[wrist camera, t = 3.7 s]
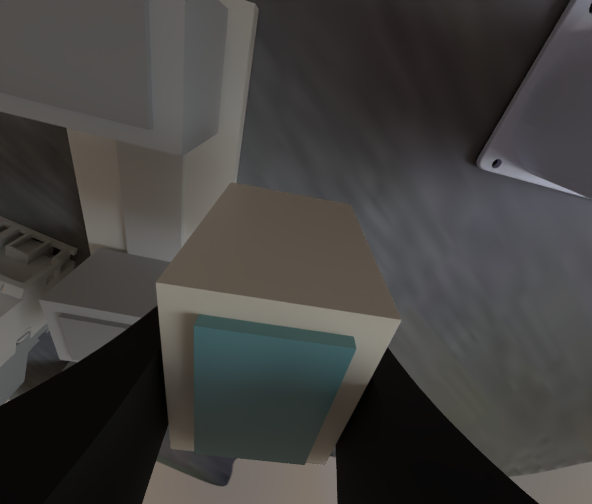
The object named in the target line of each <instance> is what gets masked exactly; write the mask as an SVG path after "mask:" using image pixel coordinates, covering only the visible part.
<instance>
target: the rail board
mask: <svg viewBox="0 0 592 504" xmlns="http://www.w3.org/2000/svg"><path fill="white" fill-rule="evenodd" d="M258 13H259V9H258V7H257V6H256V4H255V3H252V2H249V1H246V0H0V112H4V113H8V114H12V115H16V116H20V117H24V118H28V119H32V120H37V121H41V122H45V123H49V124H53V125H57V126H61V127H65V128H66V129H67V134H68V140H69V145H70V150H71V155H72V160H73V166H74V171H75V176H76V181H77V186H78V192H79V197H80V202H81V207H82V212H83V218H84V223H85V228H86V233H87V238H88V244H89V249H90V254H91V256H90V257H89V258H87V259H86V260H85V261H84V262H83V263H81V264H80V265H79V266H78V267H77V268H75V269H74V270H73V271H72V272H71V273H69V274H68V275H67V276H66V277H65V278H63V279H62V280H61V281H60V282H59V283H57V284H56V285H55V286H54V287H53V288H51V289H50V290H49V291H48V292H47V293H46V294H44V295H43V296H42V297H41V298H40V299H39V302H40V305H41V308H42V311H43V313H44V316H45V319H46V322H47V325H48V328H49V331H50V333H51V336H52V339H53V342H54V345H55V348H56V350H57V353H58V356H59V359H60V360H66V361H72V362H79V361H80V360H82V359H83V358H85V357H87V356H88V355H90V354H91V353H93V352H94V351H96V350H97V349H99V348H100V347H102V346H103V345H105V344H106V343H108V342H109V341H111V340H112V339H114V338H115V337H116V336H118V335H119V334H121V333H122V332H123V331H125V330H126V329H127V328H129V327H130V326H131V325H133V324H134V323H135V322H137V321H138V320H139V319H141V318H142V317H143V316H145V315H146V314H147V313H148V312H150V311H151V310H152V309H153V308H154V307H156V306H157V305H158V303H157V292H156V281H157V280H158V279H159V277H160V276H161V275H162V273H163V272H164V271H165V269H166V268H167V267H168V265H169V264H170V263H171V261H172V260H173V259H174V257H175V256H176V255H177V253H178V252H179V251H180V249H181V248H182V247H183V245H184V244H185V243H186V241H187V240H188V239H189V237H190V236H191V235H192V233H193V232H194V231H195V229H196V228H197V227H198V225H199V224H200V223H201V221H202V220H203V219H204V217H205V216H206V214H207V213H208V212H209V210H210V209H211V208H212V206H213V205H214V204H215V202H216V201H217V200H218V198H219V197H220V196H221V194H222V193H223V192H224V190H225V189H226V188H227V186H228V185H229V184H230V182H233V183H236V182H237V175H238V167H239V159H240V152H241V144H242V136H243V128H244V121H245V113H246V105H247V98H248V90H249V82H250V74H251V67H252V59H253V51H254V44H255V36H256V28H257V20H258Z"/></svg>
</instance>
